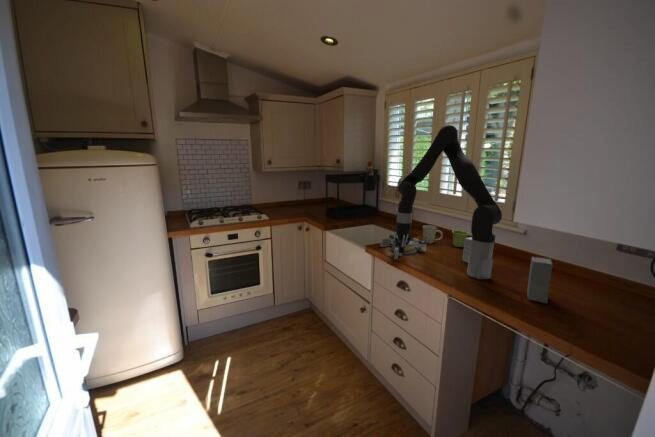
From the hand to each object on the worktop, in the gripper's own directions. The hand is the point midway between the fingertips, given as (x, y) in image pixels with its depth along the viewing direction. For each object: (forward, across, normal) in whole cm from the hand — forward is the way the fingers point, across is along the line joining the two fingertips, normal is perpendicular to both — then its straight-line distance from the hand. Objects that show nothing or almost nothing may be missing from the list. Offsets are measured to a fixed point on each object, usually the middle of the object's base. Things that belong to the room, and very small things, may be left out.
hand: (401, 253), depth 154 cm
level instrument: (+4, -13, -10) cm, 16 cm away
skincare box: (+4, -16, +57) cm, 59 cm away
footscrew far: (+3, -10, -20) cm, 23 cm away
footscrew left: (+3, -1, -4) cm, 5 cm away
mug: (+4, -42, -13) cm, 44 cm away
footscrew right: (+3, -22, -7) cm, 23 cm away
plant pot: (+4, -51, 0) cm, 51 cm away
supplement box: (+4, -32, +21) cm, 38 cm away
